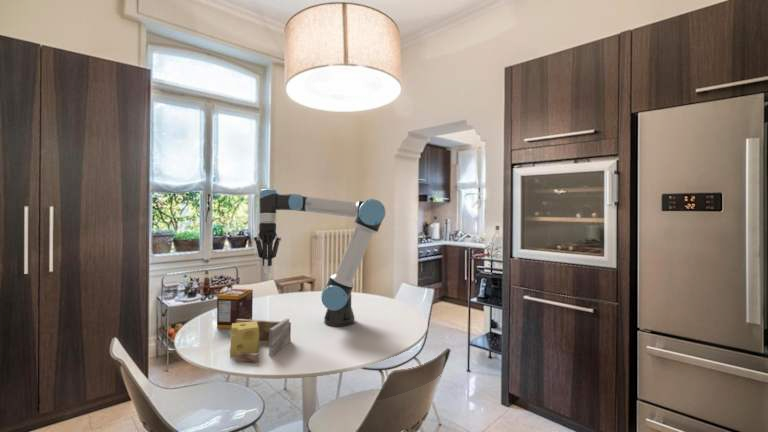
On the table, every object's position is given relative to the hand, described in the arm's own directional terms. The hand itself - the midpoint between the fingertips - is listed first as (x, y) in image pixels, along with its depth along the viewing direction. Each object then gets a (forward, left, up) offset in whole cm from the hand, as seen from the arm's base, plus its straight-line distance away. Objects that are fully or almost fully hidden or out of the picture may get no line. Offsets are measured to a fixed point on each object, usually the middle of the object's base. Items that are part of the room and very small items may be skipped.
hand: (267, 272), depth 166 cm
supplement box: (+19, -5, -27) cm, 33 cm away
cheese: (-4, +25, -27) cm, 37 cm away
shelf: (-5, +24, -26) cm, 36 cm away
